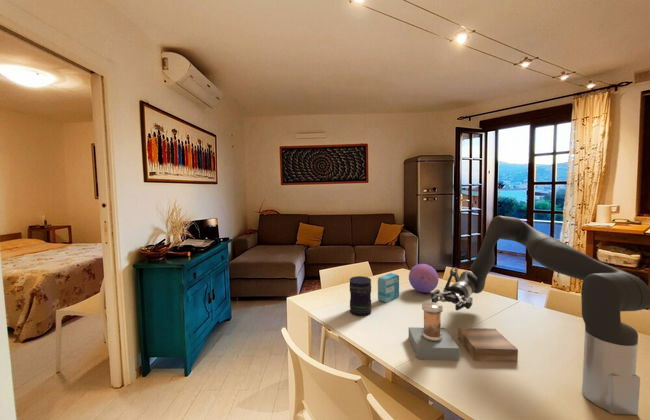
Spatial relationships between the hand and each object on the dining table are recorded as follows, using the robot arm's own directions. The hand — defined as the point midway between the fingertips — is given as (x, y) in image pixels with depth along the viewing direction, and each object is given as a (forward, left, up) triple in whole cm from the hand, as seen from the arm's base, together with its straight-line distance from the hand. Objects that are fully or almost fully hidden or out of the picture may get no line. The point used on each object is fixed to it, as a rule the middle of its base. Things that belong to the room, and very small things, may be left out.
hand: (444, 304), depth 102 cm
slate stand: (-8, +7, -12) cm, 16 cm away
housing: (-8, +7, -8) cm, 14 cm away
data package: (+35, +15, -12) cm, 40 cm away
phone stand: (+48, -22, -12) cm, 54 cm away
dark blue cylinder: (+20, +30, -12) cm, 38 cm away
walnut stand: (-8, -11, -12) cm, 18 cm away
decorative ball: (+45, -5, -12) cm, 46 cm away
